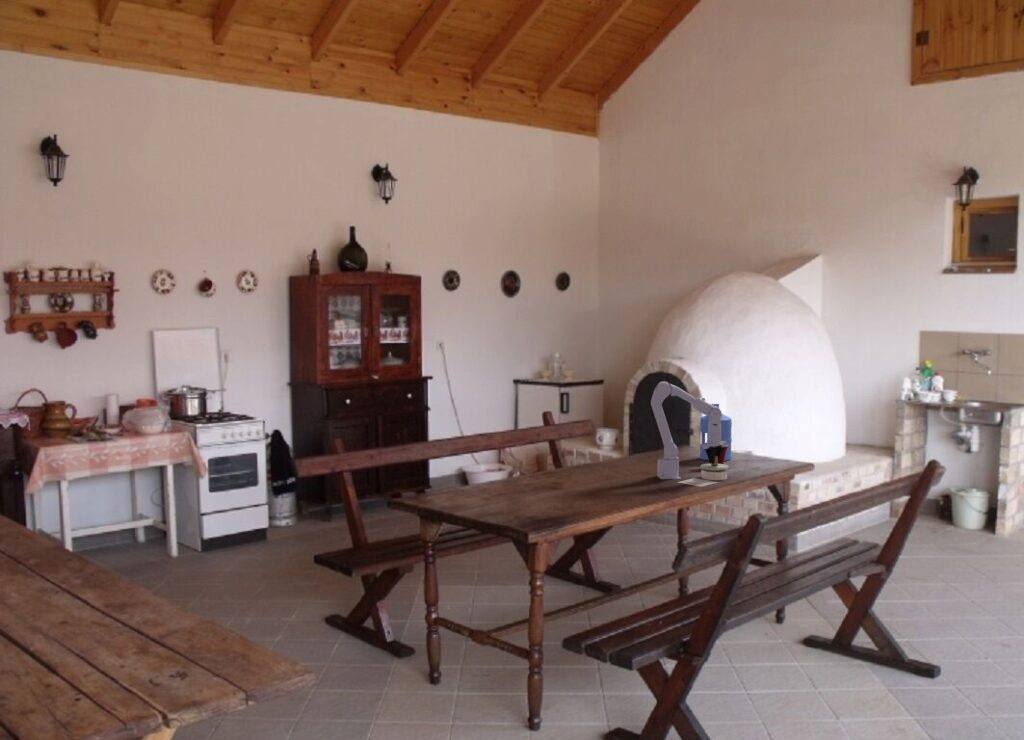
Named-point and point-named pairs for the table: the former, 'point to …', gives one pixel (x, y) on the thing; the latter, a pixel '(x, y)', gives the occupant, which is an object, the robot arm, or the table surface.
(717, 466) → the lid
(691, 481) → the mat
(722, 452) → the plastic cup
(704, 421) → the water jug
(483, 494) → the table surface
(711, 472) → the white low cylinder
